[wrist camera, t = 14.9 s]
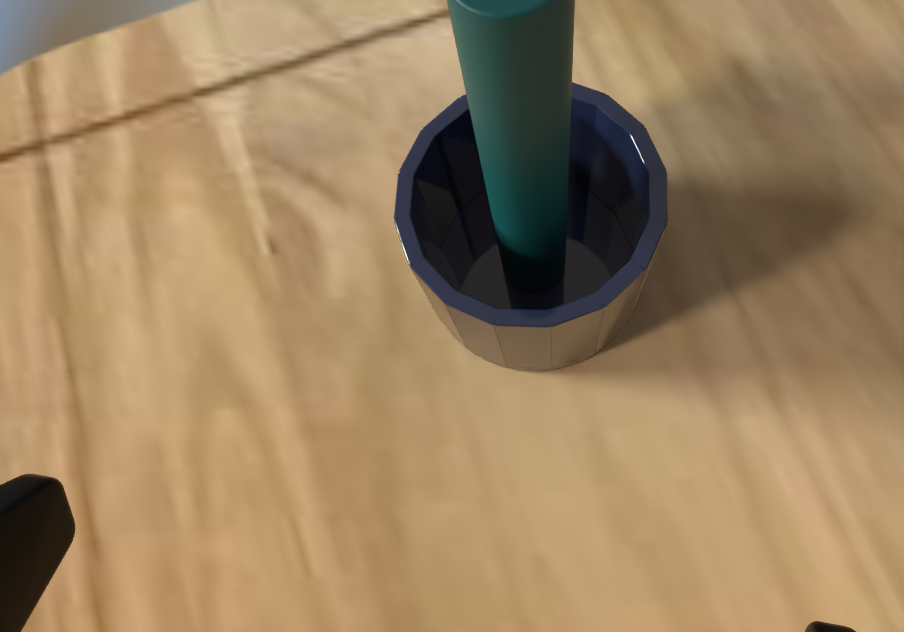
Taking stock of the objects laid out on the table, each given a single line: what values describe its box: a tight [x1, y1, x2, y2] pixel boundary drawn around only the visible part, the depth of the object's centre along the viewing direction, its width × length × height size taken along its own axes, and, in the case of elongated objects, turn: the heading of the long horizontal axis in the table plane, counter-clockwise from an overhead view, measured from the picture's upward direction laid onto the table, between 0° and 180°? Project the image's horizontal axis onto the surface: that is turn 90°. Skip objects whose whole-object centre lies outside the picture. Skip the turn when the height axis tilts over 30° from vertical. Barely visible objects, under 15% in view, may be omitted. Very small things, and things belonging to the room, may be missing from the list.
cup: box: [394, 82, 668, 371], centre depth 21 cm, size 7×7×6 cm
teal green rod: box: [447, 0, 575, 292], centre depth 17 cm, size 2×2×13 cm
